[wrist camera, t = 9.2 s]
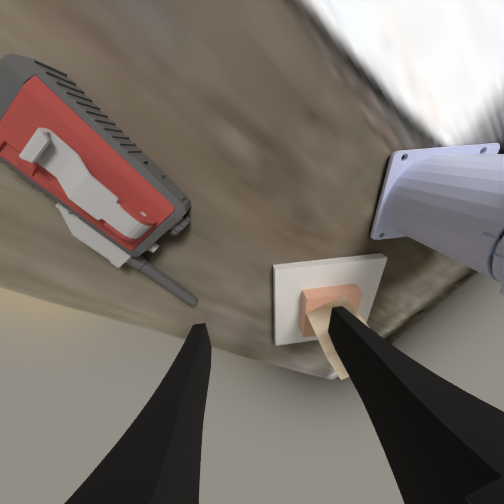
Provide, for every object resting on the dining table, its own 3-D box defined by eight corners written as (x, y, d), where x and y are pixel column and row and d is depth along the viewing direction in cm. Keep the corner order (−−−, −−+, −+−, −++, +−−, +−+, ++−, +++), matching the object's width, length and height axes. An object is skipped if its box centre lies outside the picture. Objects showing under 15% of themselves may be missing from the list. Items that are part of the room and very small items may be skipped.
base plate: (381, 253, 21) (398, 265, 19) (358, 327, 27) (370, 343, 24) (272, 264, 20) (278, 279, 18) (274, 338, 26) (278, 356, 24)
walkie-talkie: (-23, 146, 13) (191, 300, 22) (-125, 145, 10) (183, 332, 18) (41, 41, 11) (250, 256, 20) (-55, -14, 8) (255, 282, 16)
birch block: (344, 295, 20) (376, 336, 15) (354, 319, 22) (386, 362, 17) (306, 313, 21) (326, 357, 16) (319, 335, 23) (341, 379, 18)
